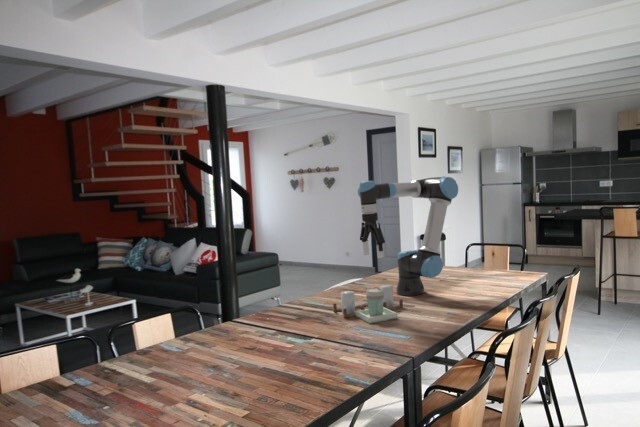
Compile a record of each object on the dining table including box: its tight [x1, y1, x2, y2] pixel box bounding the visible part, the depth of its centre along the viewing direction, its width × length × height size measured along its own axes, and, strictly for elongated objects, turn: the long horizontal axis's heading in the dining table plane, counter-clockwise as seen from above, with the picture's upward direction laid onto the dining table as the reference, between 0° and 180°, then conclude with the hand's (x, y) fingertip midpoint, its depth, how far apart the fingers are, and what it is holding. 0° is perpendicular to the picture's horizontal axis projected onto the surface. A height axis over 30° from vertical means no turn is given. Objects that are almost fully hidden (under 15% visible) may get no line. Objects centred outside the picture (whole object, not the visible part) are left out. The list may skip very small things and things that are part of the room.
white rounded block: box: [379, 284, 395, 308], centre depth 237 cm, size 6×6×10 cm
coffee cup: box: [365, 287, 384, 317], centre depth 219 cm, size 9×9×12 cm
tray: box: [355, 307, 398, 324], centre depth 220 cm, size 14×14×2 cm
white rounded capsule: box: [340, 290, 356, 315], centre depth 230 cm, size 6×6×10 cm
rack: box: [332, 298, 404, 319], centre depth 234 cm, size 32×14×4 cm, turn 111°
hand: (373, 256), depth 233 cm, fingers open, 13 cm apart
